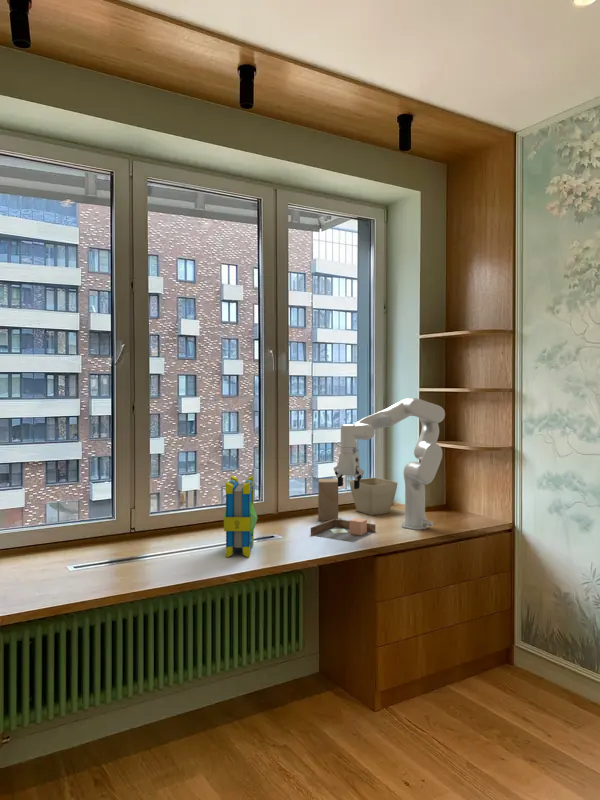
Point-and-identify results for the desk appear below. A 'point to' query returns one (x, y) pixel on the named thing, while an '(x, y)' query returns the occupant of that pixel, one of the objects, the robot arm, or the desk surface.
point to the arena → (339, 530)
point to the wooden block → (327, 499)
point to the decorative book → (239, 516)
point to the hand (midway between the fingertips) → (348, 487)
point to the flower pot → (374, 495)
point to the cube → (358, 526)
